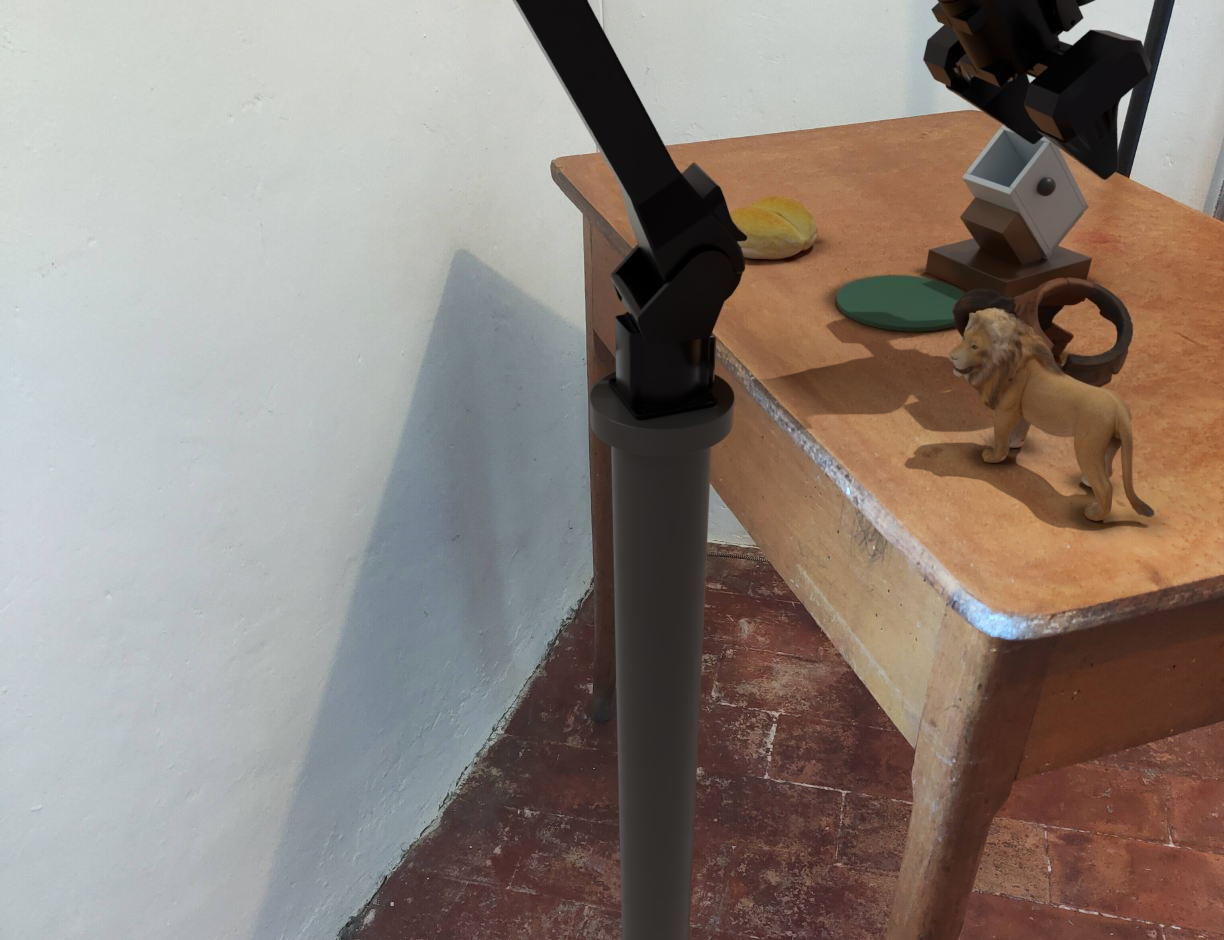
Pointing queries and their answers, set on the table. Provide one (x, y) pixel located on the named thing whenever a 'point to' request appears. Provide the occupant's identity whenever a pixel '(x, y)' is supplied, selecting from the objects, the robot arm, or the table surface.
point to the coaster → (900, 302)
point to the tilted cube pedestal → (1001, 255)
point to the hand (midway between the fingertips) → (1072, 156)
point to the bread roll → (775, 228)
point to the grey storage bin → (1029, 185)
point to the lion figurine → (1045, 403)
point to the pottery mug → (1039, 314)
